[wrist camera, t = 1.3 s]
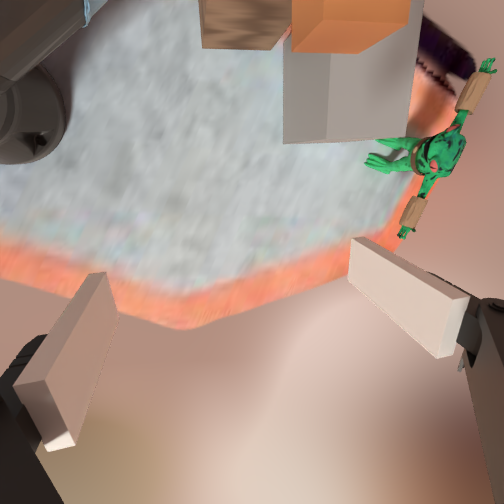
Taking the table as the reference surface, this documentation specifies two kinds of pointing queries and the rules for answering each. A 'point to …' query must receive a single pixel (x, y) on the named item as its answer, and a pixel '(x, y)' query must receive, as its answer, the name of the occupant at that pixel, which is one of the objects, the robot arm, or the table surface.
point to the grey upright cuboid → (351, 89)
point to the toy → (433, 149)
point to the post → (243, 23)
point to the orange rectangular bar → (345, 24)
